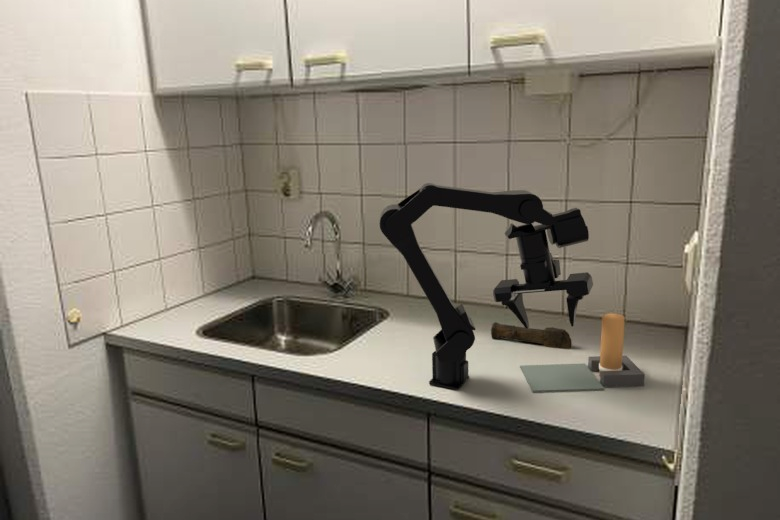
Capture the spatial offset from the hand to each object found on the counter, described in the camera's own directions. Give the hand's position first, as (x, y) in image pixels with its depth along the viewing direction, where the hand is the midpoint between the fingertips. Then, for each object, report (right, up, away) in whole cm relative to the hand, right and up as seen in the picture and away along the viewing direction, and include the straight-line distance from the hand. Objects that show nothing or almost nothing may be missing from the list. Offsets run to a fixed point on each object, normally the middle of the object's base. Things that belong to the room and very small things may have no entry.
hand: (549, 326), depth 120 cm
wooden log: (+1, -7, +23) cm, 24 cm away
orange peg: (+13, -11, +2) cm, 17 cm away
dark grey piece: (+13, -11, +2) cm, 17 cm away
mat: (+3, -11, +3) cm, 12 cm away
